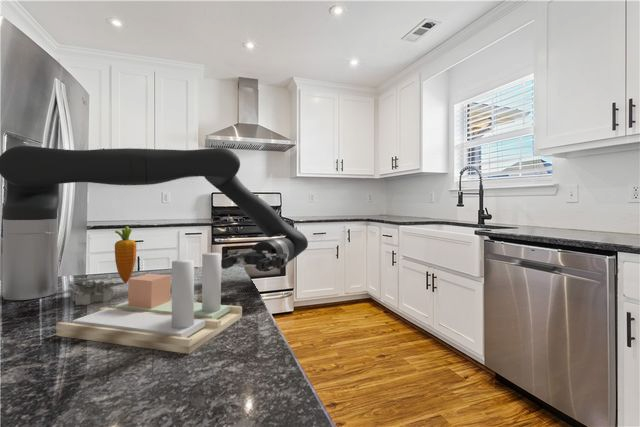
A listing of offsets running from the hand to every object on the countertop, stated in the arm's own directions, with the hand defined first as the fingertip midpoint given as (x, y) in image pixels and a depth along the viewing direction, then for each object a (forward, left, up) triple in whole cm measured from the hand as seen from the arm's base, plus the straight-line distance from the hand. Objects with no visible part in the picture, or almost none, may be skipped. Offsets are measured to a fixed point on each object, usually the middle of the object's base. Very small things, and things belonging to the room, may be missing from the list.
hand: (241, 265), depth 70 cm
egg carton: (-34, -5, -9) cm, 35 cm away
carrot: (-38, +9, -9) cm, 40 cm away
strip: (-8, -19, -7) cm, 22 cm away
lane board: (-8, -15, -8) cm, 19 cm away
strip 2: (-8, -11, -7) cm, 16 cm away
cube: (-13, -11, -6) cm, 18 cm away
